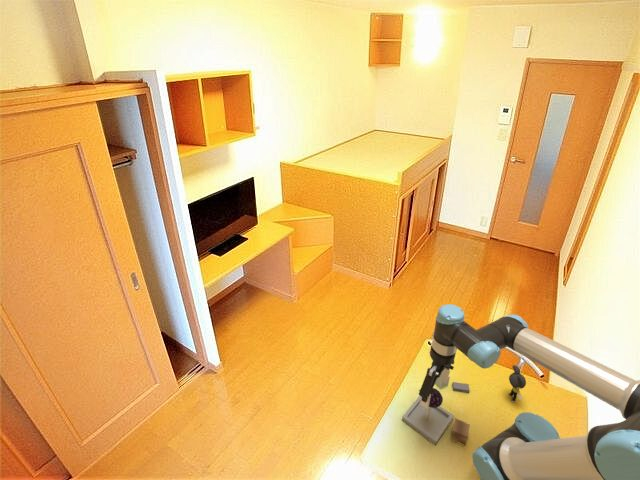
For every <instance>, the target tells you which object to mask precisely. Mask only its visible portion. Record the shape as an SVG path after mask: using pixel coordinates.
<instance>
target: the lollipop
mask: <svg viewBox="0 0 640 480" xmlns="http://www.w3.org/2000/svg"><path fill="white" fill-rule="evenodd" d="M430 394H431V397H430V402H429V410H428V414H427V419H428V418H429V414H430V410H431V408H436V407H439V406H442V405H443V401H444V399H443V397H444V396H443V395H442V393H441V392H440V391H439V390H438V389H437V388H435V387H433V389H432V391H431V393H430Z"/></svg>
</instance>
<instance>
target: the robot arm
mask: <svg viewBox="0 0 640 480" xmlns="http://www.w3.org/2000/svg"><path fill="white" fill-rule="evenodd" d="M465 315H466V314H465V312H464V311H463V308H461V307H459V306H457V305H455V304H451V303H449V304H444V305H441V306H440V307H439V308H438V311H437V314H436V317H435V324H434V330H433V333H432V334H431V337H432V341H431V346H430V349H429V357H430V358H431V360H432V362H431V366H430V367H428V368H427V369H426V370H427V371H426V375H425V376H424V378H423V382H422V385H421V388H420V389H419V391H418V396H419V395H420V396H421V401H420V404H421V405H422V406H424V407H425V408H426V409H428V407H429V402H430V397H431V394H430V393H431V391H432V389H433V388H435V387H434V386H435V385H436V384H435V382H436V380H437V378H439V377H440V378H439V380H441V381H442V382H444V383H446V384H447V382H448V378H449V376H450V373H451V371H453V370H454V368H455V367H454V364H455V358H456V354H457V350H459V351H460V352H461V353H462V354H463V355H465V356H466V357H467V358H468V360H470V361H471V362H473V363H474V364H476V365H477V366H479V367H480V368H481V369H489V368H492V367H493V366H494V364H496V363H497V362H498V360H499V359H500V357H501V354H502V351H501V350H504V349H505V348H509V349H510V350H512V351H514V352H516V353H517V354H519V355H521V356H523V357H525V358H527V359H529V360H530V361H532V362H534V363H536V364H537V365H539V366H541V367H542V368H544V369H546V370H548V371H550V372H552V373H553V374H555V375H556V376H558V377H560V378H562V379H563V380H566V381H567V382H569V383H571V384H573V385H575V386H576V387H578V388H579V389H581V390H582V391H585V392H586V393H588V394H590V395H592V396H593V397H595V398H597V399H599V400H601V402H604V403H606V404H607V405H609V406H611V407H613V408H615V409H616V410H619V412H620V414H621V416H622V418H624V419H625V420H623V421H620V422H616V423H610V424H601V425H594V426H593V427H591V428H590V429H589V430H588V432H587V434H586V435H581V436H580V435H579V436H572V437H563V438H562V437H561V436H559V435H560V434H559V432H558V430H557V429H556V428H555V426H554V425H553V424H552V423H551V422H550V421H548V420H547V418H544V417H543V416H541V415H539V414H535V413H533V412H529V411H524V412H521V413H519V414H518V415H517V416H516V418H515V419H514V423H513V424H512V425H510V426H509V427H507V428H506V429H505V430H503V431H501V432H500V433H498V434H496V435H495V436H494V437H492V438H491V439H489V440H488V441H486V442H485V443H483V444H482V445H479V446H478V447H477V448H476V449H475V450H473V452H472V456H471V457H472V463H473V467H474V469H475V471H476V472H477V474H478V476H479V478H480V479H481V480H640V379H639V380H636V379H633V378H631V377H629V376H627V375H625V374H623V373H621V372H619V371H617V370H615V369H614V368H611V367H609V366H606V365H604V364H603V363H600V362H598V361H597V360H595V359H592V358H590V357H589V356H586V355H584V354H582V353H580V352H578V351H576V350H574V349H572V348H569V347H567V346H565V345H563V344H562V343H559V342H557V341H555V340H553V339H551V338H550V337H547V336H545V335H543V334H541V333H538V332H536V331H535V330H533V329H530V328H529V325H528V323H527V322H526V321H525V320H524V319H523V318H522V316H520V315H517V314H507V315H505V316H500V318H498V319H496V320H495V321H493V322H490V323H487V324H486V325H484V326H482V327H479V328H477V329H475V328H474V327H473V326H472V325H470V324H469V323H467V322H466V321H465ZM436 373H439V374H438V375H437V374H436Z"/></svg>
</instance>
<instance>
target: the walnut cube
mask: <svg viewBox="0 0 640 480" xmlns="http://www.w3.org/2000/svg"><path fill="white" fill-rule="evenodd" d="M453 420H454V421H453V424H452V428H451V433H450V437H449V439H450V440H452V441H454V442H456V443H458V444H461V445H463V446H466V443H467V441H468V438H469V432H470V428H471V424H469V423H467V422H465V421H463V420H460V419H458V418H454V419H453Z"/></svg>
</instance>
